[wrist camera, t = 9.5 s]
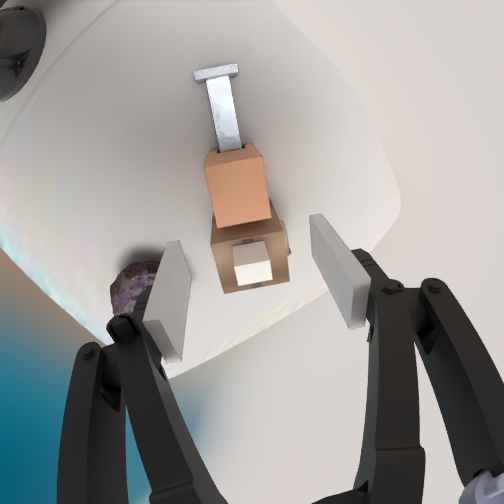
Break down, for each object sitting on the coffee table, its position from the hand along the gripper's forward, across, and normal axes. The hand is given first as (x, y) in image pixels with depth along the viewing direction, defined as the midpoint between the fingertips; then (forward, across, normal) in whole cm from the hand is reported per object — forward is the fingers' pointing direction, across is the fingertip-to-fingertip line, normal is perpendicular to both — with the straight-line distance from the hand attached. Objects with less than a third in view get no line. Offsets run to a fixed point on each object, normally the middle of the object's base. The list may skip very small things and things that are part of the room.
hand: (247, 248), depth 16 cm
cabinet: (+19, 0, -7) cm, 20 cm away
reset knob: (+9, 0, -6) cm, 10 cm away
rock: (+19, -15, -12) cm, 28 cm away
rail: (+19, 0, +4) cm, 19 cm away
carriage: (+19, 0, 0) cm, 19 cm away
